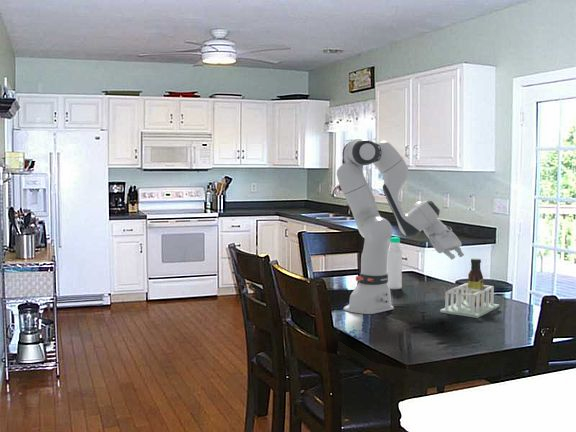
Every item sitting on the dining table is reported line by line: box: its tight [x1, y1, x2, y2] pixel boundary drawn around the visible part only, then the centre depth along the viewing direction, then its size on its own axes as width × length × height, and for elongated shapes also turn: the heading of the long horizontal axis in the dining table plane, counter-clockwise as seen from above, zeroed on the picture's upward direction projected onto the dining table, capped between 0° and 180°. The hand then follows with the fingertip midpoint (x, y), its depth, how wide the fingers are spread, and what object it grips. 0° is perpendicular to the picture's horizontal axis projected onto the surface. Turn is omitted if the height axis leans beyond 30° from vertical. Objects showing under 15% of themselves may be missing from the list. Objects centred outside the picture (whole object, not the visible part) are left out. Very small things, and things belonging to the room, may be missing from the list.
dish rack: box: [439, 282, 500, 319], centre depth 272 cm, size 25×16×9 cm, turn 143°
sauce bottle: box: [467, 258, 484, 306], centre depth 275 cm, size 6×6×20 cm
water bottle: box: [387, 236, 403, 290], centre depth 317 cm, size 7×7×25 cm
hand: (458, 257), depth 279 cm, fingers open, 8 cm apart
